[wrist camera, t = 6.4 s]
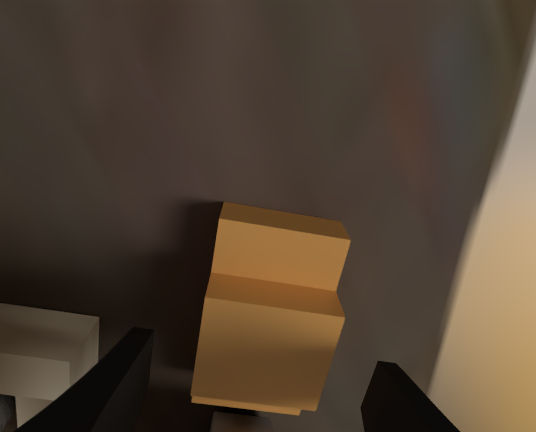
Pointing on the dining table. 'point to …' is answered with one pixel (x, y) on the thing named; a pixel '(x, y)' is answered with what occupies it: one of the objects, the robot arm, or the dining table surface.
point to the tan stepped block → (270, 311)
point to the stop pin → (6, 409)
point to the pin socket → (43, 356)
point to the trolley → (239, 423)
